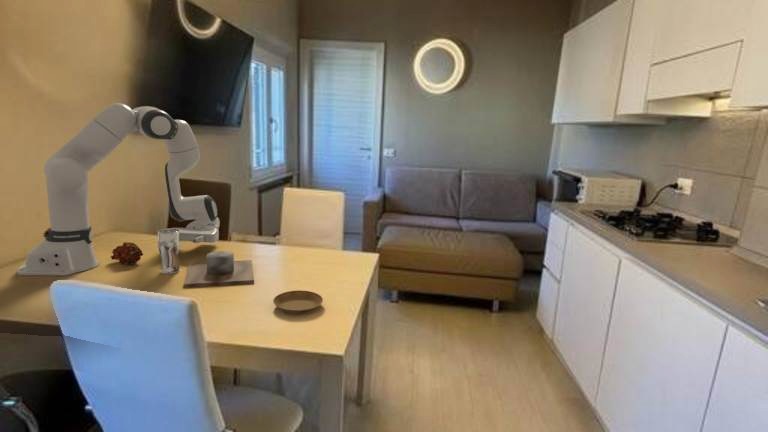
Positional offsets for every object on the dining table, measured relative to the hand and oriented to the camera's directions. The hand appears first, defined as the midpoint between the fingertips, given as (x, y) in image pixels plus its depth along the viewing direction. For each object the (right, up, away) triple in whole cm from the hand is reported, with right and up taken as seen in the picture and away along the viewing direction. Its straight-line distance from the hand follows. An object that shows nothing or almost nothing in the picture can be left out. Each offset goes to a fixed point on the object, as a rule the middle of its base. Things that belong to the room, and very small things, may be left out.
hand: (182, 240), depth 163 cm
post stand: (+18, -12, -9) cm, 23 cm away
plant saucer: (+50, -19, -32) cm, 62 cm away
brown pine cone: (-19, -8, -3) cm, 21 cm away
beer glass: (0, -11, -9) cm, 14 cm away
